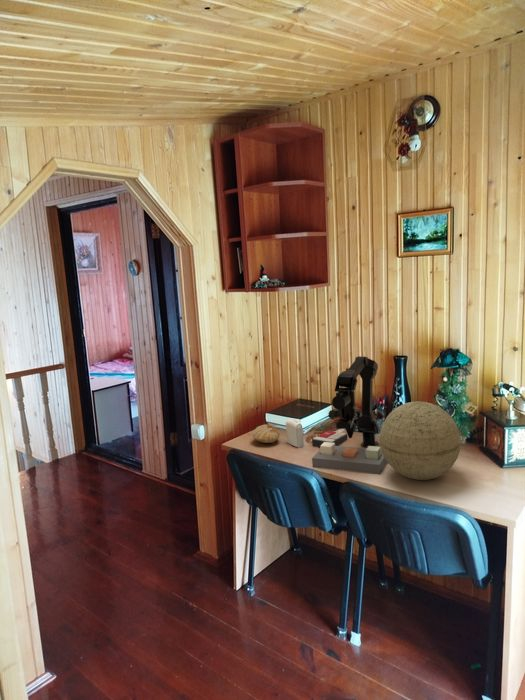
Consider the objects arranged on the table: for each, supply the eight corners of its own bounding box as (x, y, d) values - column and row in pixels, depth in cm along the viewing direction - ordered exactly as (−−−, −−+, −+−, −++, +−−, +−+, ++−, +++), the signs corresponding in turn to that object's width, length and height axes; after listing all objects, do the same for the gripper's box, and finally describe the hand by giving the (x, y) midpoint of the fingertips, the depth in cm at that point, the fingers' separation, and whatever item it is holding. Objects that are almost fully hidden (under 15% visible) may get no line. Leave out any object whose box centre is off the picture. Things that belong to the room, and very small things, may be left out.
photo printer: (286, 442, 252) (284, 418, 250) (293, 440, 254) (291, 416, 252) (297, 448, 243) (295, 423, 241) (305, 446, 245) (303, 421, 243)
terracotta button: (346, 458, 225) (346, 447, 224) (358, 459, 222) (357, 448, 221) (343, 463, 220) (342, 452, 219) (354, 464, 218) (354, 453, 217)
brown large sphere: (454, 499, 182) (452, 417, 177) (371, 487, 197) (368, 411, 192) (466, 466, 208) (465, 394, 203) (392, 458, 223) (389, 390, 218)
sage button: (369, 456, 220) (368, 445, 219) (381, 458, 218) (380, 446, 217) (366, 461, 215) (365, 450, 214) (378, 462, 213) (377, 451, 212)
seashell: (268, 432, 271) (293, 437, 263) (245, 443, 253) (270, 449, 245) (268, 417, 270) (293, 422, 262) (244, 428, 252) (270, 433, 244)
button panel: (325, 453, 235) (324, 444, 234) (388, 459, 222) (388, 450, 221) (312, 466, 221) (311, 457, 220) (380, 474, 208) (379, 464, 207)
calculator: (347, 432, 249) (331, 441, 238) (347, 441, 250) (332, 450, 238) (328, 429, 256) (311, 437, 244) (328, 438, 257) (312, 446, 245)
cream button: (324, 452, 229) (324, 441, 228) (335, 453, 226) (334, 442, 226) (321, 456, 224) (320, 446, 223) (331, 458, 222) (331, 446, 221)
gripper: (336, 395, 230) (339, 429, 232) (322, 408, 213) (325, 444, 216) (361, 396, 225) (363, 431, 227) (348, 409, 208) (351, 446, 211)
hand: (350, 437), depth 221 cm, fingers closed
